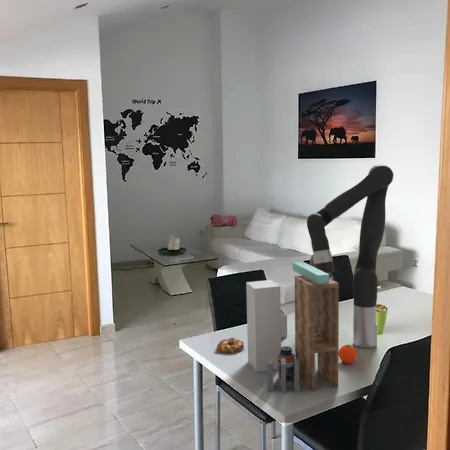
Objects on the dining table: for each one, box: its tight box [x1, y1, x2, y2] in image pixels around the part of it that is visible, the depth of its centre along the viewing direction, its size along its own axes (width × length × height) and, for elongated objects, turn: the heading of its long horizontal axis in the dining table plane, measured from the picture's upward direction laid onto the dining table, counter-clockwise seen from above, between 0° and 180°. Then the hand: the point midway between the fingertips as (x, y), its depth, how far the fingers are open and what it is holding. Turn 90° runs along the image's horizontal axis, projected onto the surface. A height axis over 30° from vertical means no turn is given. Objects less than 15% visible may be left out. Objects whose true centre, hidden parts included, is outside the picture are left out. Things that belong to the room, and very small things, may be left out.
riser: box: [245, 279, 282, 373], centre depth 192 cm, size 10×10×32 cm
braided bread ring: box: [216, 337, 245, 355], centre depth 211 cm, size 12×11×4 cm
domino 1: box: [267, 358, 274, 393], centre depth 174 cm, size 2×5×10 cm, turn 173°
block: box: [292, 261, 329, 284], centre depth 179 cm, size 22×4×3 cm, turn 15°
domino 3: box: [293, 359, 300, 394], centre depth 173 cm, size 2×5×10 cm, turn 173°
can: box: [281, 308, 288, 339], centre depth 224 cm, size 8×8×12 cm
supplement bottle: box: [277, 345, 295, 382], centre depth 182 cm, size 6×6×11 cm
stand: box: [294, 275, 340, 392], centre depth 177 cm, size 14×10×37 cm
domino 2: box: [280, 358, 287, 393], centre depth 174 cm, size 2×5×10 cm, turn 173°
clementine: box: [338, 343, 358, 364], centre depth 194 cm, size 8×7×7 cm
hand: (330, 300), depth 207 cm, fingers open, 8 cm apart
